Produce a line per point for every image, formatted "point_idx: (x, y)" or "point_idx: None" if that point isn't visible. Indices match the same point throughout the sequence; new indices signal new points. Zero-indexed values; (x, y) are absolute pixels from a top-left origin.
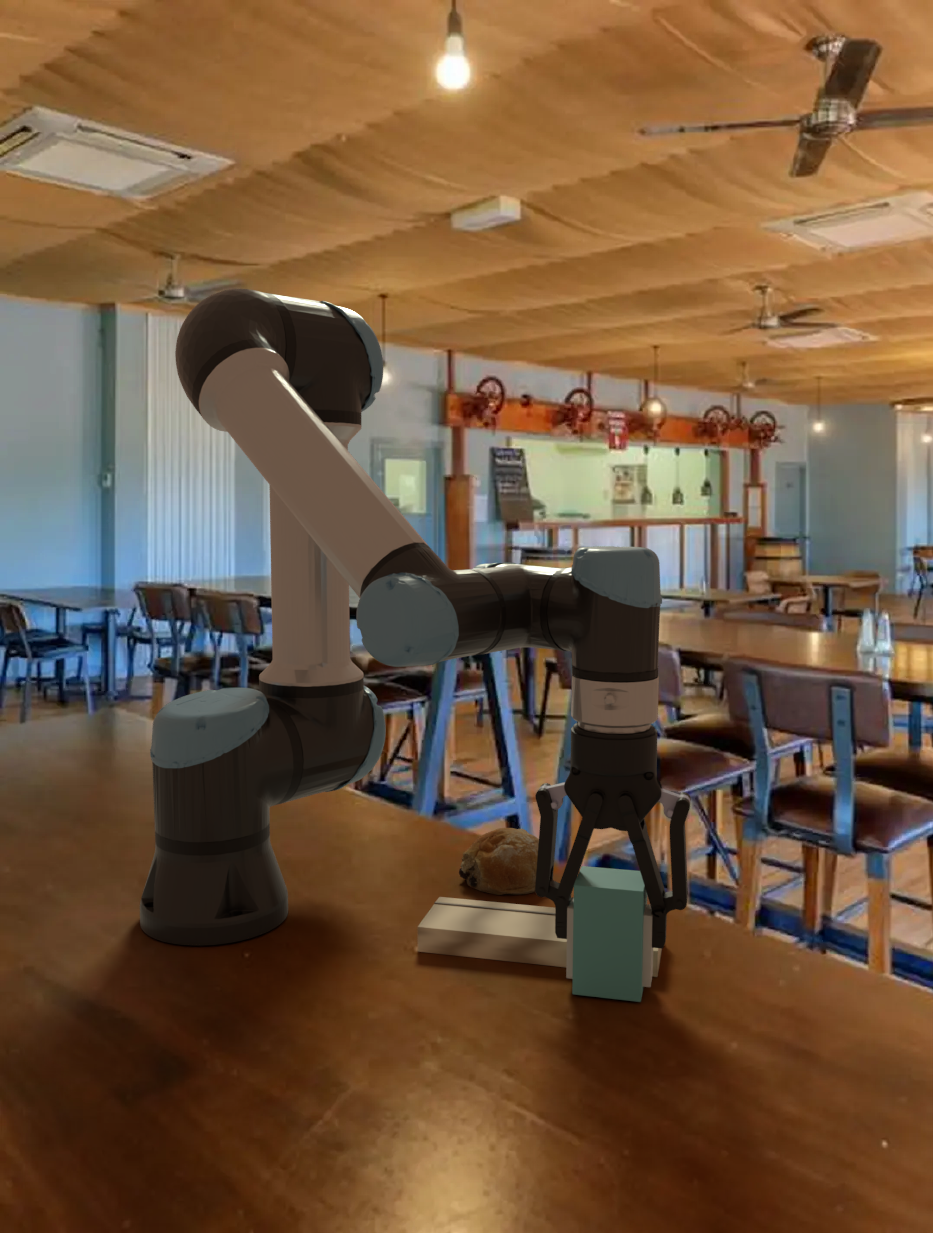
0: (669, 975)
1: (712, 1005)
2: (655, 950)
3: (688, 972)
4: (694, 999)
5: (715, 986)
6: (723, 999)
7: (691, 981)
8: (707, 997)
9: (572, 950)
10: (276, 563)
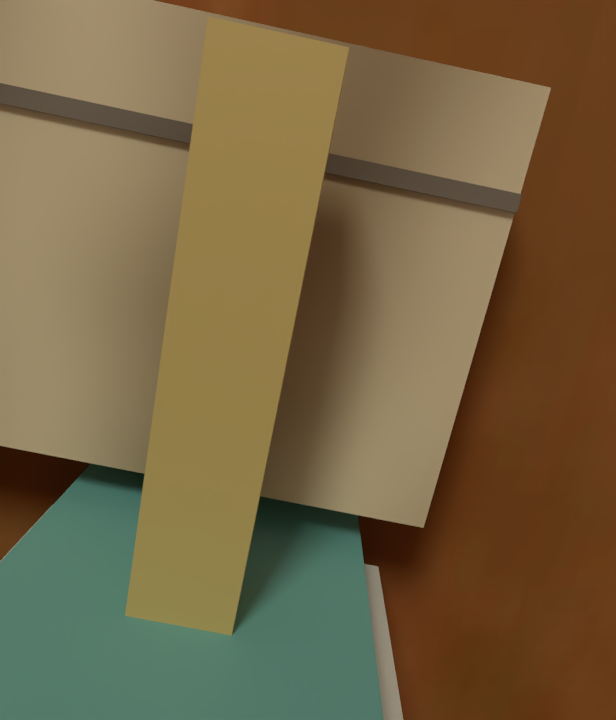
0: (455, 452)
1: (551, 655)
2: (413, 523)
3: (537, 424)
4: (501, 620)
5: (606, 531)
6: (602, 618)
7: (528, 496)
8: (551, 606)
9: None
10: None
